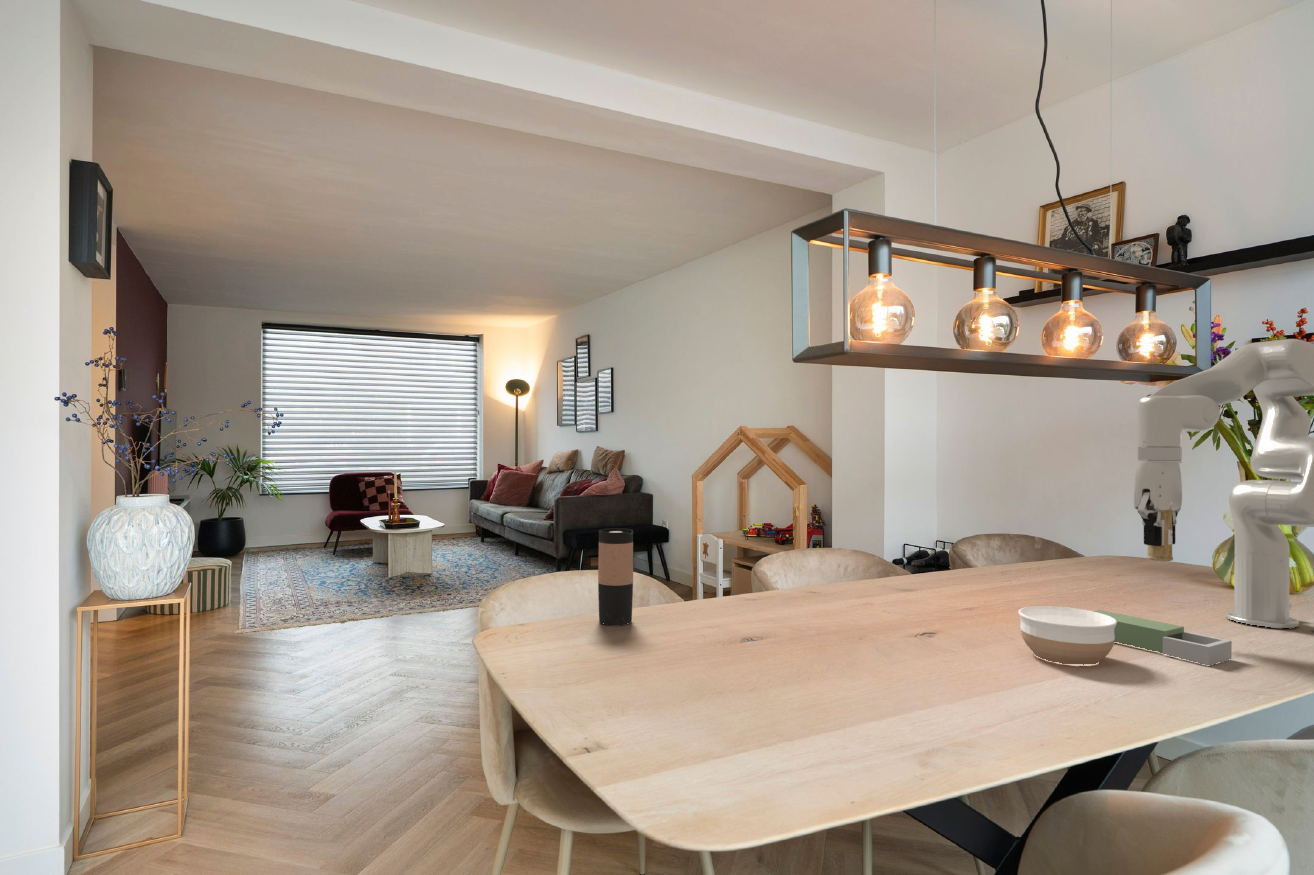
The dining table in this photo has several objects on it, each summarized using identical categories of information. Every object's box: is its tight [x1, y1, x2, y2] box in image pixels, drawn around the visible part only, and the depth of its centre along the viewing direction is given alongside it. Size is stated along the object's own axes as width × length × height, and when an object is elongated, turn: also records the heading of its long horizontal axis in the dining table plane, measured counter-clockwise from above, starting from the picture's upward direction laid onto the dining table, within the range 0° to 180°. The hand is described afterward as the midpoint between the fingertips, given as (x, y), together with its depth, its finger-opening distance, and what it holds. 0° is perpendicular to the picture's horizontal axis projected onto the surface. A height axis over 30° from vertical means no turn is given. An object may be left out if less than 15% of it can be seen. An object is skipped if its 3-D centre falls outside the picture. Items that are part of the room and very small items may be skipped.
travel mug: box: [597, 528, 634, 626], centre depth 162 cm, size 8×8×20 cm
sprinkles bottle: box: [1146, 502, 1174, 562], centre depth 152 cm, size 5×5×14 cm
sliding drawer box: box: [1092, 609, 1233, 666], centre depth 144 cm, size 8×24×4 cm, turn 30°
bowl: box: [1017, 605, 1117, 665], centre depth 137 cm, size 16×16×8 cm
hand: (1159, 543), depth 152 cm, fingers closed on sprinkles bottle, 4 cm apart
